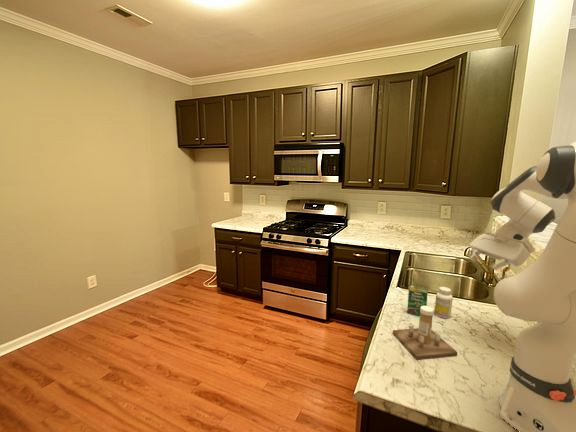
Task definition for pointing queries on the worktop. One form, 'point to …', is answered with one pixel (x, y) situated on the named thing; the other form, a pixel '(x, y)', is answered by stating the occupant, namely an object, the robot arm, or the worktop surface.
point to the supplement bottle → (443, 302)
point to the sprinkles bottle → (425, 323)
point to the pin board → (422, 350)
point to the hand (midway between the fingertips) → (482, 264)
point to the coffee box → (416, 299)
